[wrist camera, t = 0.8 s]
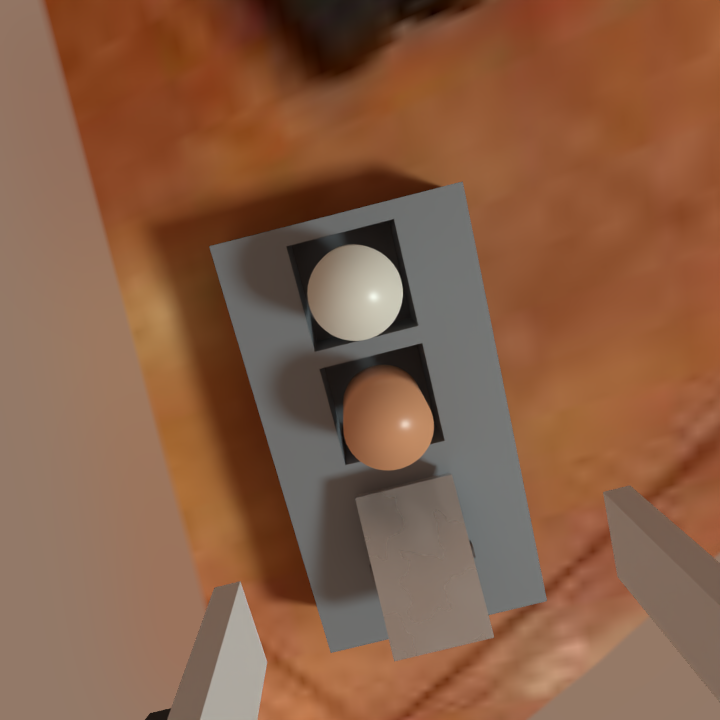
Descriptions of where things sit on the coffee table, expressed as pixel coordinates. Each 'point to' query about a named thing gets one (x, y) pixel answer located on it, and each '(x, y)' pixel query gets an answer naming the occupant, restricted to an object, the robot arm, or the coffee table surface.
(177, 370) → the coffee table surface
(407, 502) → the block
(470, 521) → the grey slotted block
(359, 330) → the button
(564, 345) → the coffee table surface
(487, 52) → the coffee table surface
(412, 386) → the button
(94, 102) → the coffee table surface
